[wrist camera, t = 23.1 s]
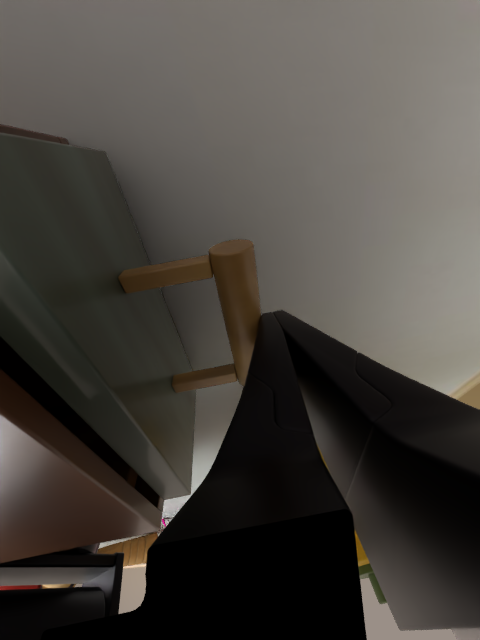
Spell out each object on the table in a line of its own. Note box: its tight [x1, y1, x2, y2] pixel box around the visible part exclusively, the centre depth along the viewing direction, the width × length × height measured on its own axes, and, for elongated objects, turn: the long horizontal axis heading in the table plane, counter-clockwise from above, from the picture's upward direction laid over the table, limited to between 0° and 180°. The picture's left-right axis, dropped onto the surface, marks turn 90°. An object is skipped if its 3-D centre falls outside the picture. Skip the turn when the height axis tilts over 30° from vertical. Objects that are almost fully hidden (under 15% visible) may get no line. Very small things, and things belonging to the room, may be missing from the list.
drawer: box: [0, 133, 261, 500], centre depth 8 cm, size 20×12×6 cm, turn 98°
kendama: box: [0, 532, 158, 590], centre depth 28 cm, size 8×6×18 cm
